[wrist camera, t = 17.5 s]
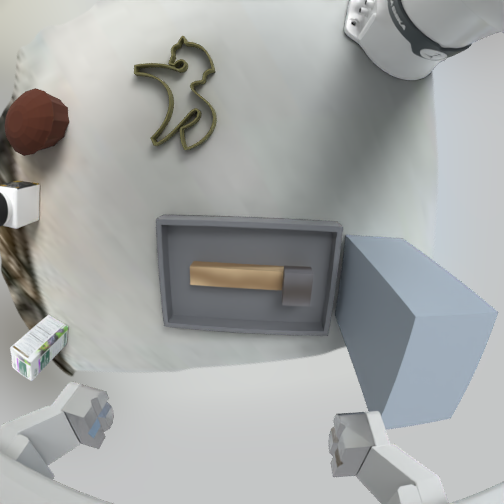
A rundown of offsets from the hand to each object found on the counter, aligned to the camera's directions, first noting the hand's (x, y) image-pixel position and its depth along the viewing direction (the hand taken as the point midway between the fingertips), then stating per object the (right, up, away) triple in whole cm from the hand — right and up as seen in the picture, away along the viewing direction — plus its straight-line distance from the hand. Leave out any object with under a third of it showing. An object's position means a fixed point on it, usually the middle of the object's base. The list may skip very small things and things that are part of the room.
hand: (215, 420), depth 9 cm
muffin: (-35, +29, +34) cm, 56 cm away
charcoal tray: (+1, +2, +40) cm, 40 cm away
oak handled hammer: (+1, +2, +40) cm, 40 cm away
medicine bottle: (-42, +16, +39) cm, 59 cm away
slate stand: (+21, +2, +39) cm, 45 cm away
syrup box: (-41, -11, +47) cm, 63 cm away
